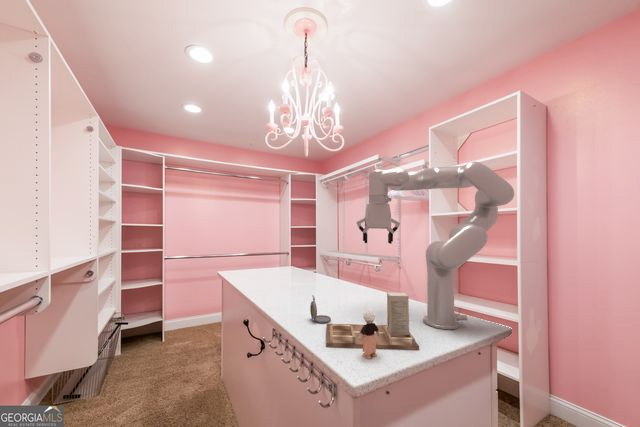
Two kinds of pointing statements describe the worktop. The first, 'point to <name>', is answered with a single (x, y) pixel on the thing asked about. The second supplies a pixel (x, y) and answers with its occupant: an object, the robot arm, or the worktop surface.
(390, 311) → the skincare box
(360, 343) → the board
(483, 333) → the worktop surface
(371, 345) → the grandmother figurine
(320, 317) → the pocket watch
